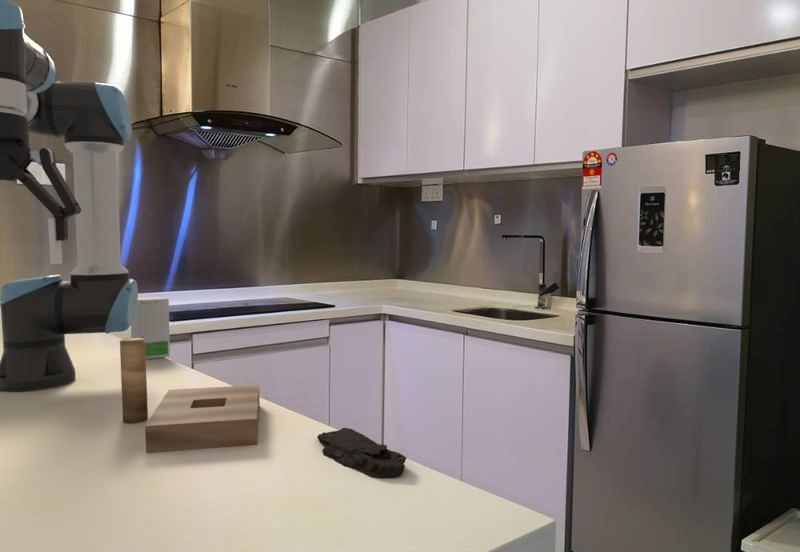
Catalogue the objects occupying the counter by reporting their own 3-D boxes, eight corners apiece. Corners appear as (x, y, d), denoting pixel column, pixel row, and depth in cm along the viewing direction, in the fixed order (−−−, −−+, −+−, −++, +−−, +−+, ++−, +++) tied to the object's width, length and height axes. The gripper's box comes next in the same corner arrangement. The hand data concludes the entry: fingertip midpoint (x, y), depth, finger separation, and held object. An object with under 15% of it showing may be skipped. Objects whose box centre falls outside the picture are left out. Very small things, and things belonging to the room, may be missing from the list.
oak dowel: (125, 417, 110) (122, 338, 110) (149, 415, 111) (147, 337, 110) (120, 424, 107) (117, 342, 106) (145, 422, 107) (142, 341, 106)
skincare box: (139, 360, 161) (136, 300, 160) (130, 357, 166) (128, 298, 165) (171, 356, 166) (169, 297, 165) (162, 352, 171) (160, 296, 170)
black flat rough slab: (300, 442, 98) (300, 423, 98) (343, 433, 102) (342, 415, 102) (369, 491, 79) (369, 467, 79) (418, 478, 83) (418, 455, 83)
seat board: (169, 411, 114) (168, 389, 114) (259, 405, 117) (259, 384, 117) (145, 452, 92) (144, 426, 92) (257, 444, 96) (256, 418, 95)
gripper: (-121, 106, 82) (-111, 267, 84) (84, 111, 87) (90, 264, 88) (-88, 116, 89) (-79, 265, 91) (99, 120, 94) (105, 262, 96)
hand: (4, 265), depth 90 cm, fingers open, 13 cm apart
